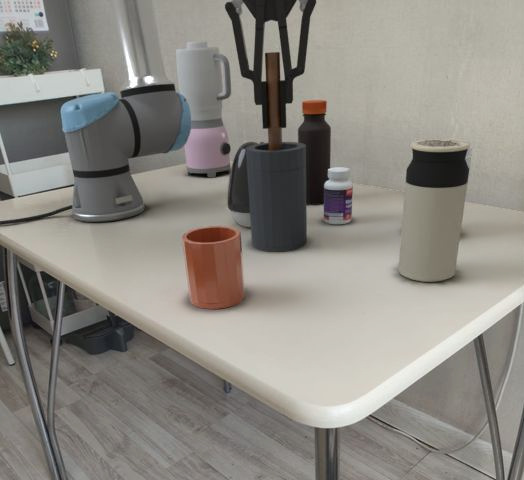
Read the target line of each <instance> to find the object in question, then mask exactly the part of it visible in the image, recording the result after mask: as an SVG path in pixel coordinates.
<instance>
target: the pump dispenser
mask: <svg viewBox="0 0 524 480" xmlns="http://www.w3.org/2000/svg"><path fill="white" fill-rule="evenodd" d="M261 143H265V141H261V142H259V143H258V142H257V141H247V142H244V143H243V144H241V145H240V146H239V147H238V149H237V150H236V153H235V155H234V157H233V160H232V164H231V169H230V173H229V178H228V185H227V201H226V202H227V203H226V205H227V209H228V210H229V212H230V215H231V217H232V218H233V220H234V221H235V222H236V223H237V224H239V225H240V226H242V227H245V228H250V229H251V223H250V207H249V191H248V175H247V159H246V148H247V147H249V146H251V145H255V144H261Z"/></svg>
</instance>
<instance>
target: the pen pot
mask: <svg viewBox="0 0 524 480" xmlns="http://www.w3.org/2000/svg"><path fill="white" fill-rule="evenodd" d="M181 243H182V251H183V258H184V266H185V267H184V268H185V275H186V283H187V289H188V295H189V301H190V303H191V304H192V305H193V306H195V307H197V308H200V309H206V310H219V309H225V308H230V307H233V306H236V305H238V304H239V303H241V302H242V301H243V300H244V299H245V297H246V296H245V293H246V292H245V276H244V275H245V274H244V262H243V260H244V259H243V247H242V246H243V245H242V235H241V231H240V230H239V229H237V228H235V227H231V226H226V225H225V226H223V225H212V226H211V225H210V226H203V227H198V228H194V229H190V230H188V231H186V232H184V233H183V234H182V236H181Z"/></svg>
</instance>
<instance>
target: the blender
mask: <svg viewBox="0 0 524 480" xmlns="http://www.w3.org/2000/svg"><path fill="white" fill-rule="evenodd" d="M175 57H176V58H175V59H176V72H177V73H176V74H177V81H178V90H179V94H182V95H183V96H184V97H185V98H186V102H187V103H188V104H189V107H190V112H191V131H190V135H189V137H188V141H187V142H186V144H185V145H184V146H183V148H184V154H185V155H184V156H185V161H186V172H187V176H191V174H206V175H207V178H216V175H217V173H219V172H224V171H227V173H229V174H230V172H231V168H232V166H231V158H230V153H231V145H230V142H229V141H230V140H229V134H228V130H227V129H226V126H225V124H224V121H223V115H222V114H223V101H224V100H227V99H229V98H230V97H231V95H232V80H231V78H232V77H231V68H230V67H231V66H230V60H229V59H228V57H227V56H226V55H224V54H222V53H220V49H219V47H218V46H210V47H208V42H207V41H206V40H205V41H203V40H202V41H189V42H188V41H187V42H186V48H177V49H176V50H175ZM222 72H223V73H222ZM223 86H224V87H223Z"/></svg>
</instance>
